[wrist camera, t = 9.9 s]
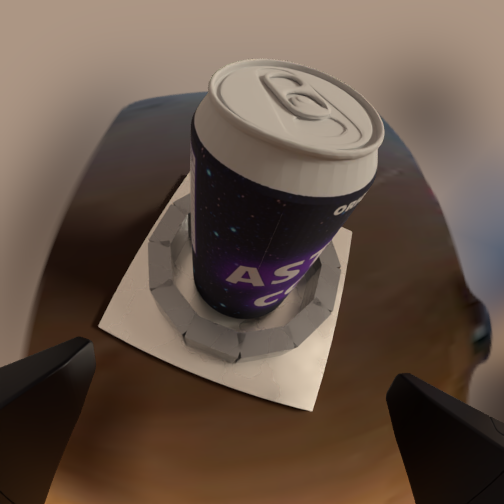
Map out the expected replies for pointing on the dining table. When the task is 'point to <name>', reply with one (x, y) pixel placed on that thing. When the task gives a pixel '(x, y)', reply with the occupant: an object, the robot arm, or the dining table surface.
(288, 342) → the collar seat
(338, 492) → the dining table surface
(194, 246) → the beverage can
